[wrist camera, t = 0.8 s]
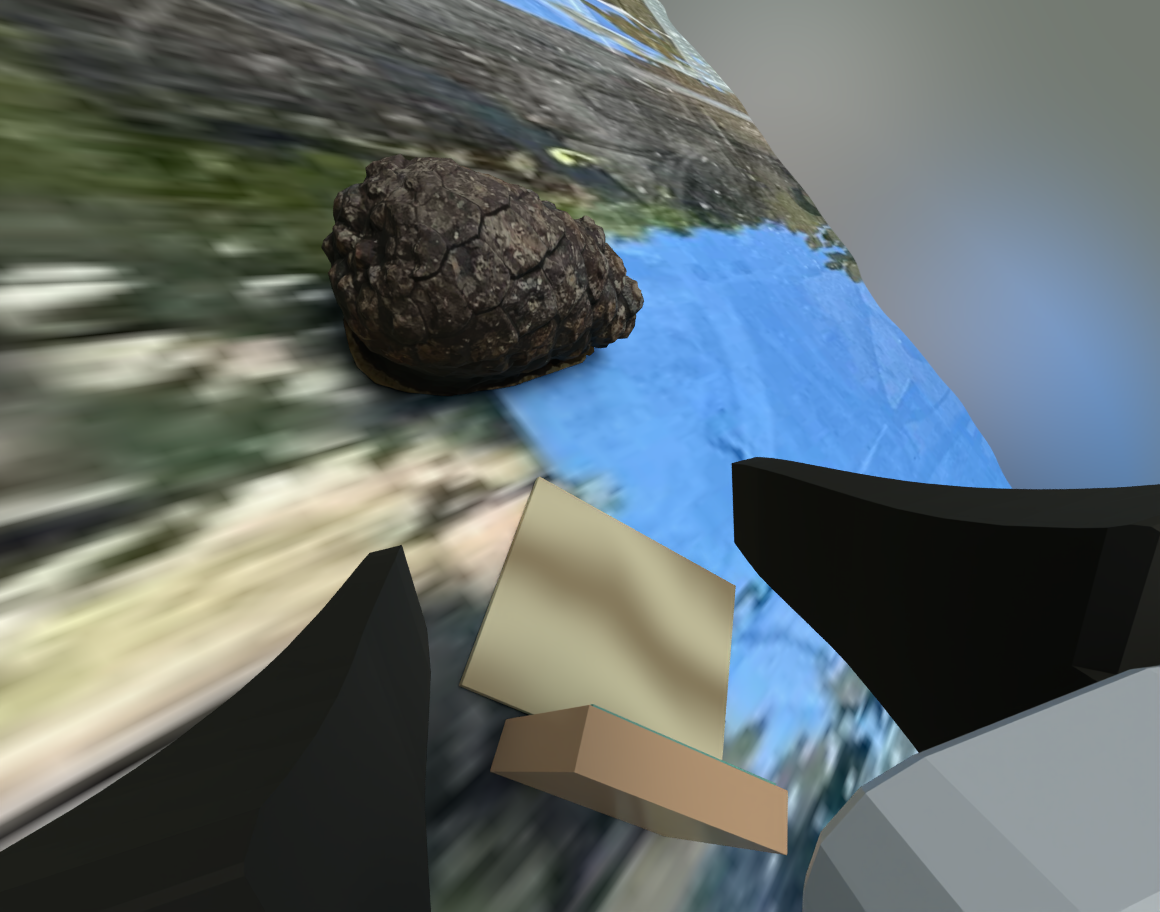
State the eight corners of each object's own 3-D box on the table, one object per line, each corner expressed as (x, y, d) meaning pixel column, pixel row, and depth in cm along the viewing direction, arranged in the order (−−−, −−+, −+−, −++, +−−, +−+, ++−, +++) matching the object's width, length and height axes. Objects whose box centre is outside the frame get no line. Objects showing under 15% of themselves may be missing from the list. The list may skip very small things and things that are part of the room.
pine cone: (619, 373, 37) (722, 272, 29) (366, 440, 25) (426, 303, 18) (547, 252, 39) (626, 128, 31) (280, 265, 27) (303, 73, 20)
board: (713, 791, 26) (719, 791, 26) (458, 685, 23) (461, 684, 22) (730, 587, 33) (735, 585, 33) (535, 479, 29) (539, 476, 29)
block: (664, 836, 24) (787, 855, 19) (489, 771, 22) (574, 772, 17) (671, 782, 26) (787, 786, 20) (506, 715, 23) (590, 700, 18)
